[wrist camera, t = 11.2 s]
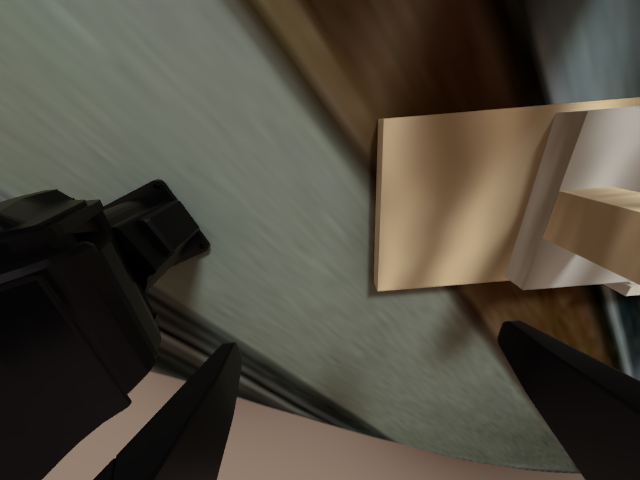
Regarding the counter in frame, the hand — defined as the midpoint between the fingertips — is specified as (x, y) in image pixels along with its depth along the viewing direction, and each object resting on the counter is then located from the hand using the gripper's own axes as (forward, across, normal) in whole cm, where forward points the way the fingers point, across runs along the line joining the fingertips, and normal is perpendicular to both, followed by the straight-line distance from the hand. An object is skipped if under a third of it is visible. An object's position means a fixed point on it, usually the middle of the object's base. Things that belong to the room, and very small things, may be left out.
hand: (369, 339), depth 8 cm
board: (+13, -14, 0) cm, 19 cm away
